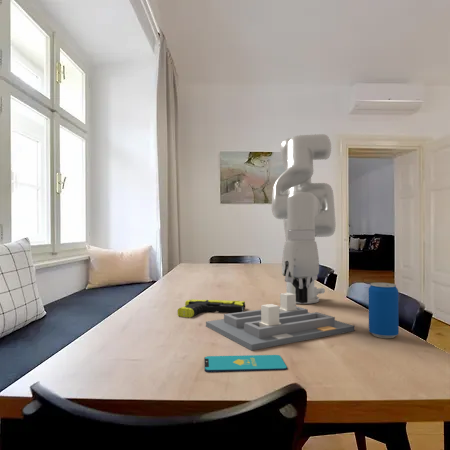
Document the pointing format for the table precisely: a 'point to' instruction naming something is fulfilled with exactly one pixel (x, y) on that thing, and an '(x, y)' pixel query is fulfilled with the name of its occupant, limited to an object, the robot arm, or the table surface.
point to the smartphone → (244, 363)
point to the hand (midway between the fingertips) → (301, 302)
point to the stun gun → (210, 307)
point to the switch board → (277, 328)
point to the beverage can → (383, 310)
